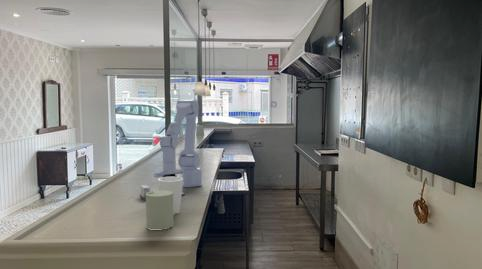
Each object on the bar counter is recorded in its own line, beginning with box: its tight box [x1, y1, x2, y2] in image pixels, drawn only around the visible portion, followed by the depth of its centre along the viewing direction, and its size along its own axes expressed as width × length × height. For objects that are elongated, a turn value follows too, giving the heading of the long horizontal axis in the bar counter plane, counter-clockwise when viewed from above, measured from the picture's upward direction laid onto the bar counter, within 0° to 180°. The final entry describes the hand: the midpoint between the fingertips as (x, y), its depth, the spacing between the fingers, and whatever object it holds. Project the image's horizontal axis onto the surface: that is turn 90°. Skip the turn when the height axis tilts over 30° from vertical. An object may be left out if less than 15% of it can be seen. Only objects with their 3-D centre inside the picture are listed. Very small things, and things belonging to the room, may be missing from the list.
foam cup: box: [157, 176, 184, 215], centre depth 136 cm, size 10×9×13 cm
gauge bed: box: [139, 184, 186, 202], centre depth 162 cm, size 18×10×5 cm, turn 118°
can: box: [145, 189, 175, 229], centre depth 120 cm, size 9×9×12 cm
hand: (169, 190), depth 164 cm, fingers closed
